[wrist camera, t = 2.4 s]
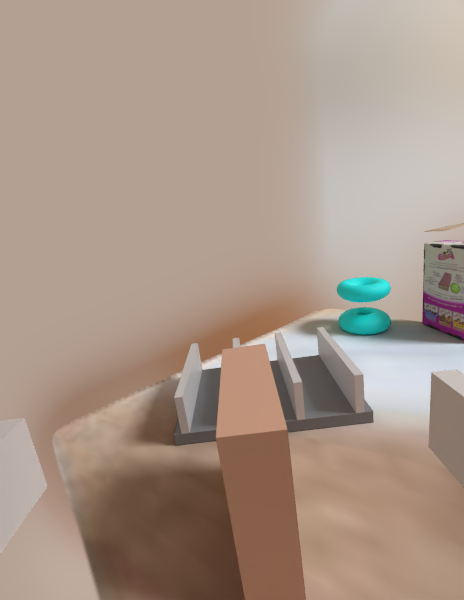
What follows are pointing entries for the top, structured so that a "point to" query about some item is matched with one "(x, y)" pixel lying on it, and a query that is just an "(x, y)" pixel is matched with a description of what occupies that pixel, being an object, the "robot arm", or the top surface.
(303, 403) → the dish rack
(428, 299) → the candy bar box
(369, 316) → the donuts
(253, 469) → the terracotta tile
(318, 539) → the top surface
